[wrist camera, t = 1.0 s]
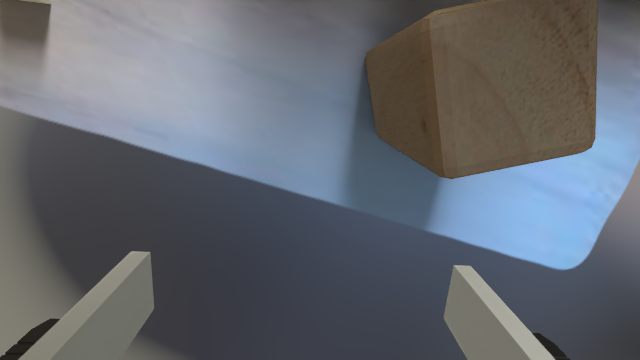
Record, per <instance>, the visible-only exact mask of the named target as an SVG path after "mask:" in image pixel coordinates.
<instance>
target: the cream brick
mask: <svg viewBox="0 0 640 360" xmlns="http://www.w3.org/2000/svg"><path fill="white" fill-rule="evenodd" d="M21 1H29V2H36V3H44V4H51V0H21Z"/></svg>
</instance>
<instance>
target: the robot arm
mask: <svg viewBox="0 0 640 360" xmlns="http://www.w3.org/2000/svg"><path fill="white" fill-rule="evenodd" d="M153 309H154V301H153V289H152V273H151V258H150V252H135V251H132V252H130V253H129V254H128V255H127V256H126V257H125V258H124V259H123V260H122V261H121V262H120V263H119V264H118V265H117V266H116V267H114V268H113V269H112V270H111V271H110V272H109V273H108V274H107V275H106V276H105V277H104V278H103V279H102V280H101V281H100V282H99V283H98V284H97V285H96V286H95V287H94V288H93V289H92V290H91V291H90V292H88V293H87V294H86V295H85V296H84V297H83V298H82V299H81V300H80V301H79V302H78V303H77V304H76V305H75V306H74V307H73V308H72V309H71V310H70V311H69V312H67V313H66V314H65V315H64V316H63V317H62V318H61V319H49V320H47V321H45V322H44V323H42V324H40V325H38V326H37V327H35V328H33V329H31V330H30V331H29V332H28V333H27V334H26V335H25V336H24V337H22V338H21V339H20V340H19V341H18V342H17V344H16V345H14V346H12V347H11V348H10V349H9V350H8V351H7V352H6V354H5V355H2V356H1V357H0V360H119V359H120V358H121V357H122V355H123V354H124V352H125V351H126V349H127V348H128V346H129V344H130V343H131V342H132V340H133V339H134V337H135V336H136V334H137V333H138V331H139V330H140V328H141V327H142V326H143V324H144V322H145V321H146V319H147V318H148V317H149V315H150V314H151V312H152V310H153ZM444 320H445V322H446V323H447V325H448V327H449V329H450V330H451V332H452V333H453V335H454V337H455V339H456V341H457V342H458V344H459V346H460V347H461V349H462V351H463V352H464V354H465V356H466V357H467V359H468V360H570V359H567V356H566V355H565V354H564V353H563V352H562V351H561V350H560V349H559V348H558V347H557V346H556V345H555V344H554V343H553V342H551V341H550V340H548V339H547V338H545V337H544V336H542V335H541V334H540V333H531V332H530V331H529V330H528V329H527V328H526V327H525V326H524V324H523V323H522V322H521V321H520V320H519V319H518V318H517V317H516V316H515V314H514V313H513V312H512V311H511V310H510V309H509V308H508V307H507V306H506V304H504V302H503V301H502V300H501V299H500V298H499V297H498V296H497V295H496V294H495V292H494V291H493V290H492V289H491V288H490V287H489V286H488V285H487V284H486V283H485V281H484V280H483V279H482V278H481V277H480V276H479V275H478V274H477V272H476V271H475V270H474V269H473V268H472V267H471V266H459V265H454V267H453V272H452V277H451V283H450V288H449V293H448V299H447V303H446V308H445V314H444Z"/></svg>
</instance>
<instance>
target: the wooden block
mask: <svg viewBox="0 0 640 360" xmlns="http://www.w3.org/2000/svg"><path fill="white" fill-rule="evenodd" d="M597 24H598V0H485V1H480V2H475V3H470V4H465V5H460V6H455V7H450V8H445V9H440V10H435V11H434V12H432V13H430V14H429V15H427V16H425V17H424V18H422V19H421V20H419V21H417V22H416V23H414V24H412V25H411V26H409V27H407V28H406V29H404V30H402V31H401V32H399V33H397V34H396V35H394V36H392V37H391V38H389V39H387V40H386V41H384V42H382V43H381V44H379V45H377V46H376V47H374V48H372V49H371V50H369V51H368V52H367V54H366V58H365V62H366V69H367V76H368V82H369V89H370V96H371V102H372V109H373V116H374V122H375V129H376V133H377V135H378V137H379V138H380V139H382V140H383V141H385V142H386V143H388V144H389V145H391V146H393V147H394V148H396V149H397V150H399V151H401V152H402V153H404V154H405V155H407V156H408V157H410V158H412V159H413V160H415V161H416V162H418V163H419V164H421V165H423V166H424V167H426V168H427V169H429V170H430V171H432V172H434V173H435V174H437V175H438V176H440V177H444V178H449V179H454V178H459V177H464V176H469V175H474V174H479V173H484V172H489V171H494V170H499V169H504V168H509V167H514V166H519V165H524V164H529V163H534V162H539V161H544V160H549V159H554V158H559V157H564V156H569V155H574V154H578V153H581V152H584V151H586V150H588V149H590V148H591V147H592V145H593V143H594V140H595V127H596V75H597Z"/></svg>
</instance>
